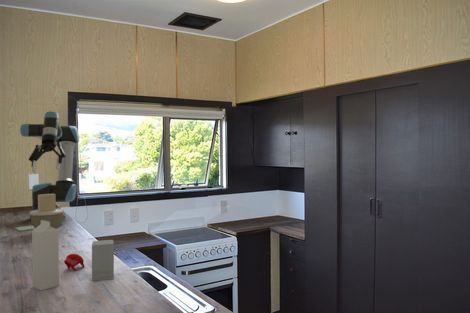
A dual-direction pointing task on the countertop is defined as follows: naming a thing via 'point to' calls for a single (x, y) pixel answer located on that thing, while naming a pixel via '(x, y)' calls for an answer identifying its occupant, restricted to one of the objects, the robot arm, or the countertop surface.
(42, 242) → the milk
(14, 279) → the countertop surface
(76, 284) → the countertop surface
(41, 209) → the lid
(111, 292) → the countertop surface
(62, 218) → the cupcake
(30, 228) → the mat
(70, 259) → the cap
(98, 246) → the supplement box
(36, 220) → the planter bowl
